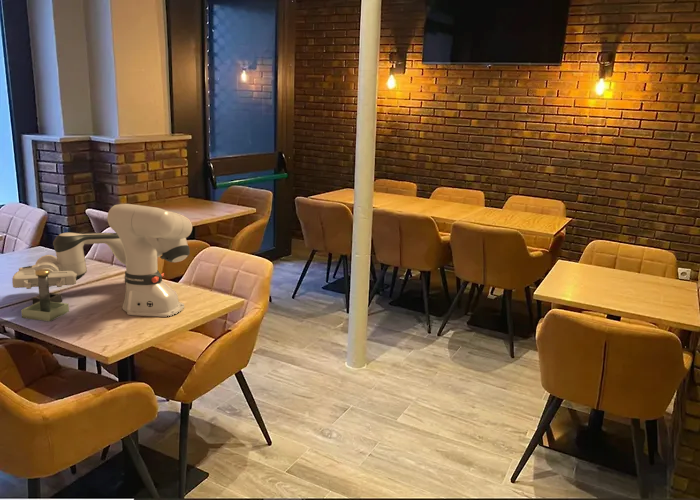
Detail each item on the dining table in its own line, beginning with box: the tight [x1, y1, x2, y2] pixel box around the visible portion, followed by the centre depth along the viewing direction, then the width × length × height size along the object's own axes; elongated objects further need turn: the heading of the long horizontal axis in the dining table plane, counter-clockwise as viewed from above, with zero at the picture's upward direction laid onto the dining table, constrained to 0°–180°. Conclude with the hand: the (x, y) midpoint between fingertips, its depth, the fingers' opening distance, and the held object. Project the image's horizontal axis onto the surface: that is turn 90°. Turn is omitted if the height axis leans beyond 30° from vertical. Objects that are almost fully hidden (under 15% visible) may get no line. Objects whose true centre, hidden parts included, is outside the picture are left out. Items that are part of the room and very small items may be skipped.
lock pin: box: [35, 269, 51, 312], centre depth 201 cm, size 4×4×15 cm
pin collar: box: [31, 292, 63, 305], centre depth 213 cm, size 7×7×3 cm
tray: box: [21, 301, 70, 322], centre depth 203 cm, size 11×11×3 cm
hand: (44, 285), depth 200 cm, fingers open, 8 cm apart
